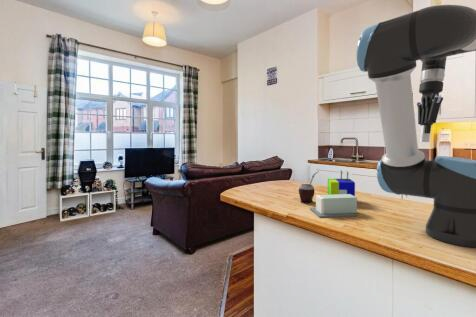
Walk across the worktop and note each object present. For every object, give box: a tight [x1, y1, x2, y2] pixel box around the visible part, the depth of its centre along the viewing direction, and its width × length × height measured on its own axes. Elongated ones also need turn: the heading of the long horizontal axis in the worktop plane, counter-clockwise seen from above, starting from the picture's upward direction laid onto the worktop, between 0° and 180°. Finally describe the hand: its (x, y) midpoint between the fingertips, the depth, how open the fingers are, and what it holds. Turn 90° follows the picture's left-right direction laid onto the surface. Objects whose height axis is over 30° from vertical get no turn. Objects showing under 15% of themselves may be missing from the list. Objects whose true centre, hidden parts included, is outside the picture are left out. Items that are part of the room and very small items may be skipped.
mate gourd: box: [298, 170, 320, 204], centre depth 118 cm, size 8×8×15 cm
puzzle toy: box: [327, 178, 356, 197], centre depth 117 cm, size 10×10×10 cm
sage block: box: [315, 194, 358, 214], centre depth 101 cm, size 6×6×14 cm
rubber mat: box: [309, 207, 357, 219], centre depth 101 cm, size 14×11×1 cm
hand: (424, 141), depth 101 cm, fingers closed
